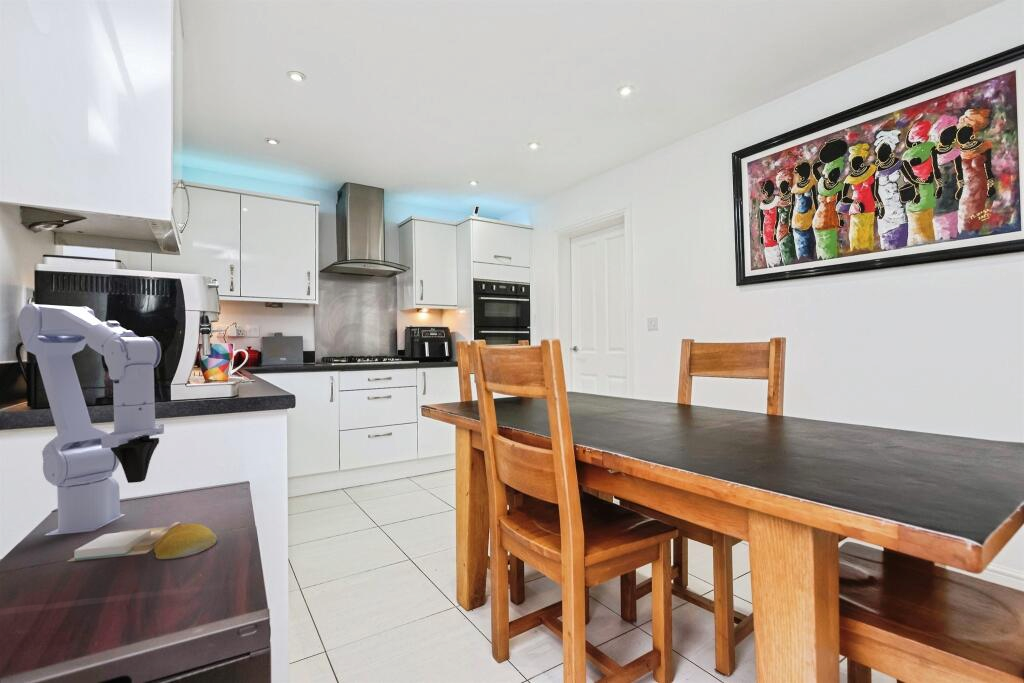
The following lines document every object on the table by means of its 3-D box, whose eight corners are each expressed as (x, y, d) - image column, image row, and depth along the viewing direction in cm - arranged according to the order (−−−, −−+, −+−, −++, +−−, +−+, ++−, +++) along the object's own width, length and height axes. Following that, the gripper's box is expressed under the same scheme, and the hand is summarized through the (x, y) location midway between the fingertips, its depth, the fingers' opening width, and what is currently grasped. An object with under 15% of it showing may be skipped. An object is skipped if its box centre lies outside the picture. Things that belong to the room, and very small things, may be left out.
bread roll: (158, 569, 71) (157, 542, 71) (152, 552, 78) (152, 527, 78) (222, 552, 77) (221, 526, 77) (211, 537, 83) (211, 514, 83)
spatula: (170, 527, 87) (170, 522, 87) (185, 525, 88) (185, 521, 88) (133, 551, 76) (133, 546, 76) (151, 549, 77) (151, 544, 77)
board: (120, 534, 86) (120, 531, 86) (187, 528, 88) (187, 524, 88) (66, 565, 74) (66, 561, 74) (146, 556, 75) (146, 553, 75)
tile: (104, 534, 81) (74, 550, 74) (150, 529, 82) (125, 545, 75) (104, 542, 81) (74, 560, 74) (150, 538, 82) (125, 555, 75)
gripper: (134, 407, 78) (137, 490, 78) (180, 399, 93) (182, 469, 92) (86, 410, 77) (88, 494, 77) (139, 401, 91) (141, 473, 91)
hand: (136, 481), depth 84 cm, fingers closed
